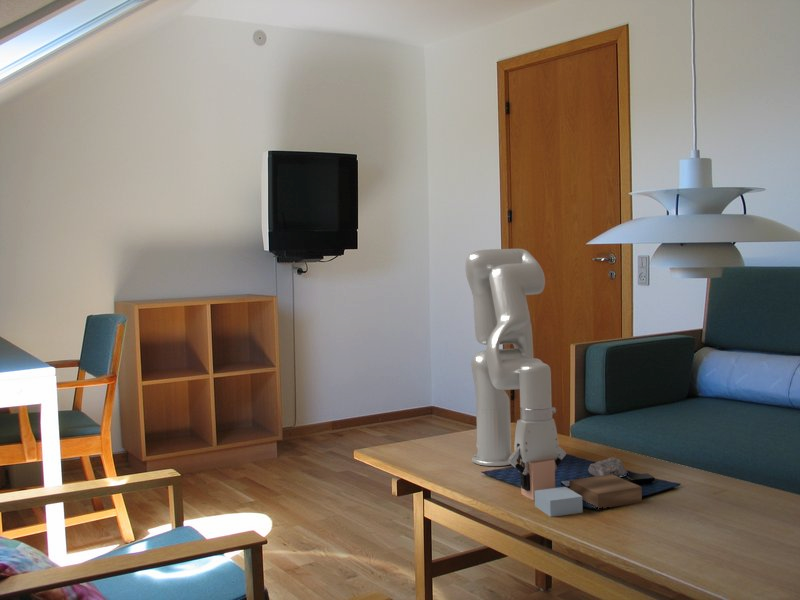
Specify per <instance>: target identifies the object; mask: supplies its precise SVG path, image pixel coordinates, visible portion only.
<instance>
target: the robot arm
mask: <svg viewBox="0 0 800 600" xmlns="http://www.w3.org/2000/svg"><path fill="white" fill-rule="evenodd" d="M465 274H466V275H465V276H466V279H467V282H468V286H469V288H470V291H471V294H472V301H473V302H472V303H473V317H474V334H475V338H476V341H477V342H478V343H479V344H481V345H484V346H486V347H485V348H486V349H485V350H482V351H479V352H477V353H475V354H474V355H473V356H472V359H471V366H470V367H471V373H472V377H473V382H474V391H475V392H474V393H475V410H476V411H475V413H476V443H475V447H476V448H477V453H475V454H473V455H472V457H471V459H472V460H471V461H472V462H473V463H474V464H477V465H478V466H479V465H480V466H485V467H502V466H503V467H504V466H509V465H512V466H513V467H514V469H516V470H517V471H518V473H519V475H520V476H519V477H520V478H519V481H520V487H521V486H522V488H523V489H525V490H526V491H530V475H529V474H528V471H529V463H530V462H537V461H544V460H551V459H552V460H555V471H557V469H558V466H559V465H560V464H561V462H562V460H563V459H564V458H565V457H566V454H567V452H566V451H565V450H564V449H563V448H562V447H561V446H560V445H559V439H558V432H557V431H558V430H557V426H556V425H557V424H556V421H555V419H554V418H553V414H555V413H556V412H557V409H556V407H553V406H552V405H553V404H552V371H551V367H550V365H549V364H547V363H544V362H543V361H542V360H541V359H540V358H536V357H535V358H534V345H533V343H534V342H533V329H532V328H533V327H532V321H531V316H530V315H531V314H530V310H529V305H528V301H527V296H530V295H531V296H533V295H540V294H541V293H543V291H544V289H545V286H546V277H545V273H544V270H543V269H542V266H541V265H540V263H539V262H538V261H537V260H536V258H535V257H534V256H533V255H532V254H531V253H530V252H529V251H528V250H526V249H523V248H493V249H491V248H490V249H481V250H475V251H473V252H471V253H469V254H468V255H467V258H466V260H465ZM500 345H513V348H505V349H504V348H501V349H500ZM508 390H509V391H510V390H511V391H513V390H519V407H520V408H519V412H520V419H517V421H516V425H515V434H514V446H513V447H514V448H513V449H514V450H513V452H512V440H511V439H512V436H511V435H512V432H511V431H512V430H511V400H510V397H509V395H508V393H507V392H506V391H508ZM518 460H521V461H520V463H518Z"/></svg>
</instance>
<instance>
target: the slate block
mask: <svg viewBox="0 0 800 600" xmlns="http://www.w3.org/2000/svg"><path fill="white" fill-rule="evenodd" d="M534 507H535V508H537V509H538V510H540V511H541V512H543V513H544V514H545V515H547V516H549V518H553V517H561V516H568V515H575V514H581V513H584V511H583V510H584V509H583V507H584V506H583V501H582V496H581V495H579V494H577V493H576V492H574V491H572V490H571V489H570V487H567V486H561V487H560V486H559V487H555V488H551V489H544V490H536V491H535V501H534Z"/></svg>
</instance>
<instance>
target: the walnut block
mask: <svg viewBox="0 0 800 600" xmlns="http://www.w3.org/2000/svg"><path fill="white" fill-rule="evenodd" d="M568 482H569V487H568V488H569V489H571V490H572V491H574V492H576V493H577V494H579V495H581V496H582V500H584V501H586V502H588V503H590V504H593V505H595V506H596V507H598V509H597V510H600V509H599V508H602V507H603V509H608V508H607V507H609V508H615V507H620V506H626V505H630V504H637V503H642V502H643V489H642V486H641V485H639V484H636V483H633V482H631V481H630V480H628V479H627V480H626V479H624V478H620V477H617V476H615V475H613V474H607V475H601V476H594V475H593V476H590V477H589V476H587V477H582V478H576V479H569V481H568Z"/></svg>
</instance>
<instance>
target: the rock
mask: <svg viewBox="0 0 800 600" xmlns="http://www.w3.org/2000/svg"><path fill="white" fill-rule="evenodd" d="M587 471H588V472H589V474H590V475H592V476H593V477H594V476H601V475H607V474H613V475H615V476H617V475H624V474H625V473H628V474H629V472H628V470H627V469H626V466H625V465H624V464H623V461H622V460H621V459H619V458H616V457H609V458H606V459H603V460H597V461H596V462H595V463H594V462H593V463H590V464H589V466H588V469H587Z"/></svg>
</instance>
